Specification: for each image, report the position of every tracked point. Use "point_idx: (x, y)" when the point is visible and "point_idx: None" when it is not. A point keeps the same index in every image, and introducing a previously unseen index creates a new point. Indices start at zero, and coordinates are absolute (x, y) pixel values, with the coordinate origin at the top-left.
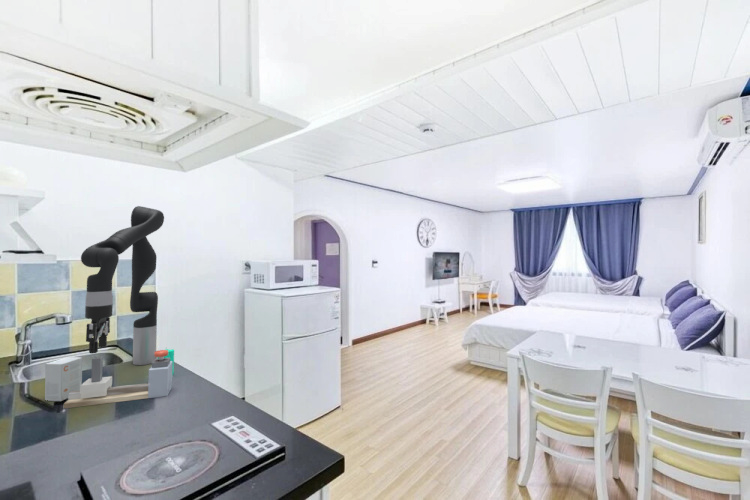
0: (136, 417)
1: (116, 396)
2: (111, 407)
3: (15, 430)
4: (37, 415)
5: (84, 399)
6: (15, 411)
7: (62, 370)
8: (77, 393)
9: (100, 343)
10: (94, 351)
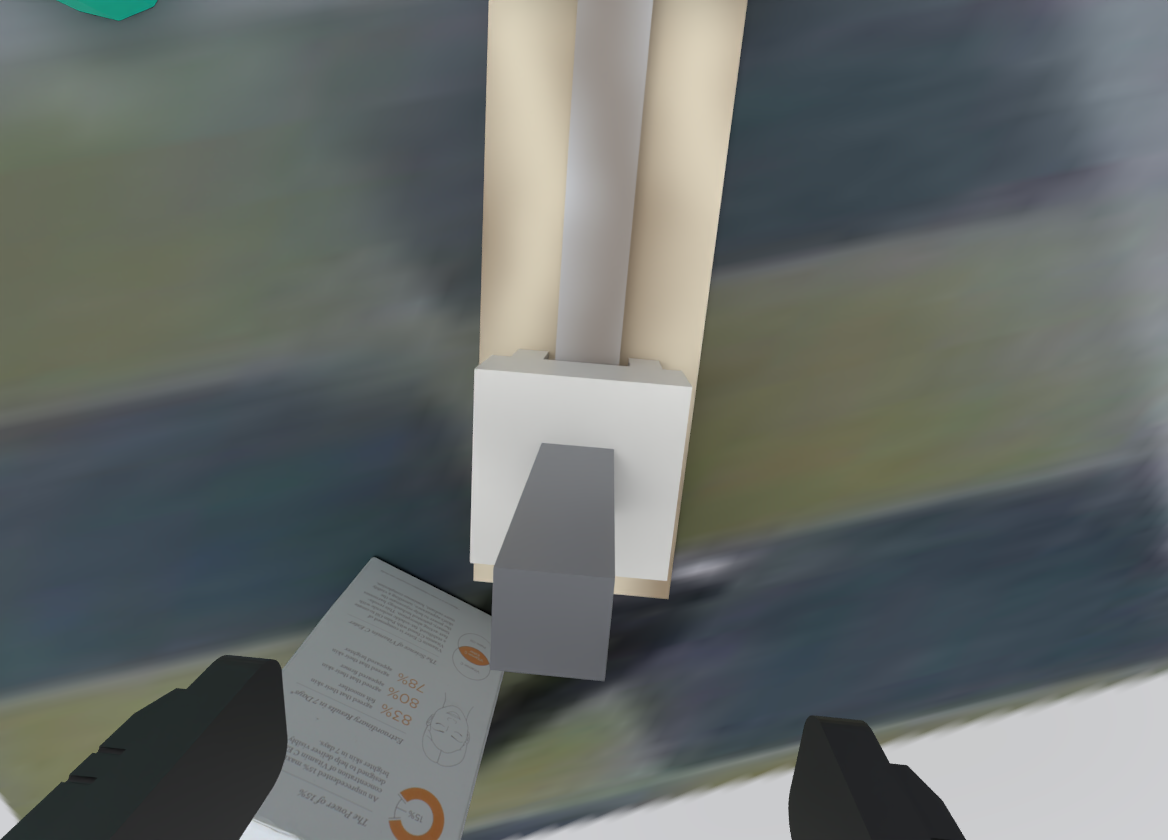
0: (1164, 32)
1: (678, 277)
2: (809, 282)
3: (901, 712)
4: (715, 679)
5: None
6: (588, 791)
7: (454, 827)
8: None
9: (232, 817)
10: (910, 779)
